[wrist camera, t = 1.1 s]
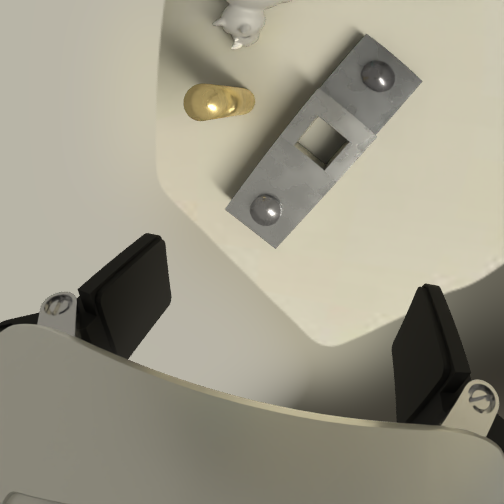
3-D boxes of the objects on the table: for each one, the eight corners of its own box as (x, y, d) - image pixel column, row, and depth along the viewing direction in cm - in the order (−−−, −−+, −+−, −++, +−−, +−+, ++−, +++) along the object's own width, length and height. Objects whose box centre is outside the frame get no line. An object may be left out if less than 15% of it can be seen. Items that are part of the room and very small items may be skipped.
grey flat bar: (365, 36, 21) (368, 28, 18) (418, 82, 22) (428, 79, 19) (233, 201, 34) (222, 211, 31) (280, 237, 35) (274, 251, 32)
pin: (229, 87, 28) (184, 83, 19) (256, 89, 27) (220, 83, 19) (226, 113, 29) (182, 120, 21) (253, 115, 29) (218, 122, 20)
